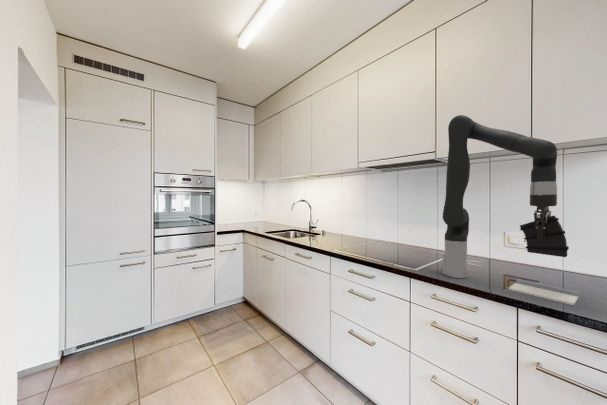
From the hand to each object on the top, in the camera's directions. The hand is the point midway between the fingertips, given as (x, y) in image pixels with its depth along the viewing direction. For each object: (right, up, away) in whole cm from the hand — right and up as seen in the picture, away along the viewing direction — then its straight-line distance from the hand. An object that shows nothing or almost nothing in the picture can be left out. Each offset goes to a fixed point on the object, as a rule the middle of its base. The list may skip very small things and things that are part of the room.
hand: (542, 237), depth 96 cm
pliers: (+1, -21, +46) cm, 51 cm away
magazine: (0, -6, 0) cm, 6 cm away
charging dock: (0, -22, +1) cm, 22 cm away
